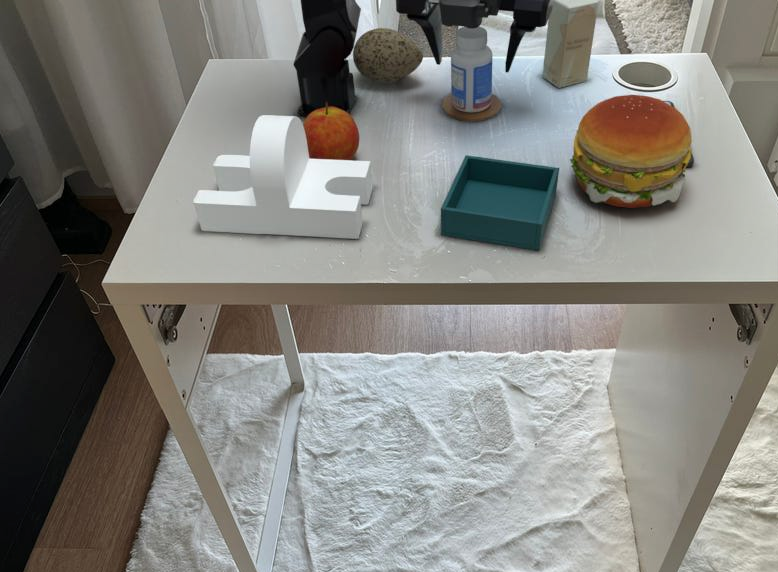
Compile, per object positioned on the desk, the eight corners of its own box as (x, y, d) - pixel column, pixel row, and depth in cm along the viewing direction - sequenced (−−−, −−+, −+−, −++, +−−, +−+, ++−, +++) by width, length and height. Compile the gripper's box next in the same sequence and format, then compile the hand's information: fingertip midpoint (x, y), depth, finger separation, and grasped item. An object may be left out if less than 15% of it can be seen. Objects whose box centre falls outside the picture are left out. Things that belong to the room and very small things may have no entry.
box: (558, 89, 107) (566, 8, 99) (541, 76, 110) (548, -4, 102) (589, 80, 109) (600, 0, 101) (571, 68, 112) (581, -11, 104)
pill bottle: (492, 94, 106) (495, 23, 99) (490, 114, 102) (493, 41, 95) (452, 93, 106) (452, 22, 99) (449, 113, 103) (449, 40, 95)
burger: (614, 139, 97) (627, 64, 90) (707, 183, 91) (729, 106, 83) (544, 184, 91) (552, 107, 84) (638, 235, 85) (656, 156, 77)
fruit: (352, 181, 92) (345, 121, 87) (297, 175, 94) (287, 115, 88) (368, 151, 97) (363, 91, 91) (315, 145, 98) (307, 86, 92)
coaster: (435, 117, 103) (435, 114, 102) (450, 89, 108) (450, 86, 108) (493, 125, 101) (494, 122, 101) (506, 96, 106) (506, 93, 106)
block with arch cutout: (372, 188, 91) (365, 102, 83) (358, 239, 85) (348, 150, 77) (225, 181, 93) (204, 95, 85) (200, 230, 86) (174, 142, 78)
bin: (440, 235, 85) (440, 208, 82) (465, 180, 92) (465, 154, 90) (539, 250, 83) (542, 224, 80) (556, 193, 90) (559, 167, 87)
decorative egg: (344, 28, 104) (415, 30, 102) (361, 25, 110) (429, 27, 108) (346, 84, 107) (415, 87, 105) (363, 78, 113) (428, 81, 111)
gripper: (377, -45, 86) (386, 88, 97) (543, -31, 82) (532, 105, 93) (406, -77, 93) (411, 49, 104) (560, -66, 89) (547, 64, 101)
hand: (473, 67), depth 100 cm, fingers open, 9 cm apart
